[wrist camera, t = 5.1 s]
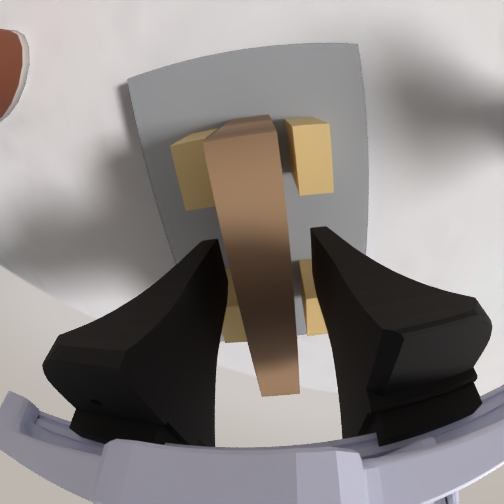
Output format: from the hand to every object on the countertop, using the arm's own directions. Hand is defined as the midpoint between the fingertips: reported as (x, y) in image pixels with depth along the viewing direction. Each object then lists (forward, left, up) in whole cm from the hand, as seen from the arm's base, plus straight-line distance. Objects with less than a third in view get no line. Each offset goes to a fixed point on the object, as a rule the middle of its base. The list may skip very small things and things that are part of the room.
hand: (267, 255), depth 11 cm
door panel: (0, 0, -3) cm, 3 cm away
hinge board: (0, 0, -4) cm, 4 cm away
